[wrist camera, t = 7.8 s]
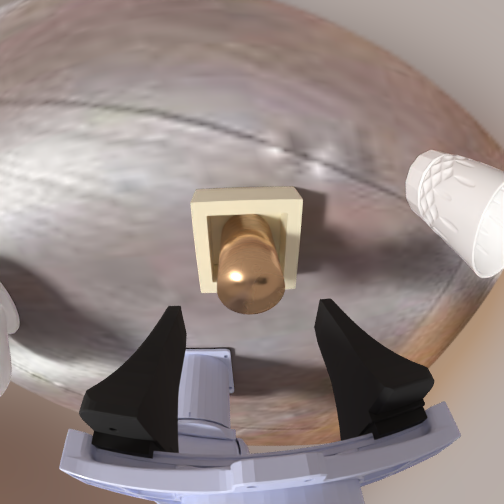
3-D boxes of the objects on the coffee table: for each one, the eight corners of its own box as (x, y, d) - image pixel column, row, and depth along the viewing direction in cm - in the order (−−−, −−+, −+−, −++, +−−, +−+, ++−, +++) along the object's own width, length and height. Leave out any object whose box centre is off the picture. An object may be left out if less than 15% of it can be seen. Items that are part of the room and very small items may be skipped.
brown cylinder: (273, 253, 23) (287, 309, 17) (226, 260, 23) (224, 318, 17) (268, 209, 21) (282, 255, 15) (217, 216, 21) (210, 265, 15)
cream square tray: (288, 268, 24) (295, 288, 22) (203, 271, 24) (201, 293, 21) (293, 186, 21) (303, 199, 18) (195, 189, 20) (190, 202, 18)
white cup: (395, 148, 19) (480, 186, 11) (456, 139, 19) (534, 172, 10) (400, 229, 23) (463, 292, 15) (455, 212, 23) (519, 261, 14)
